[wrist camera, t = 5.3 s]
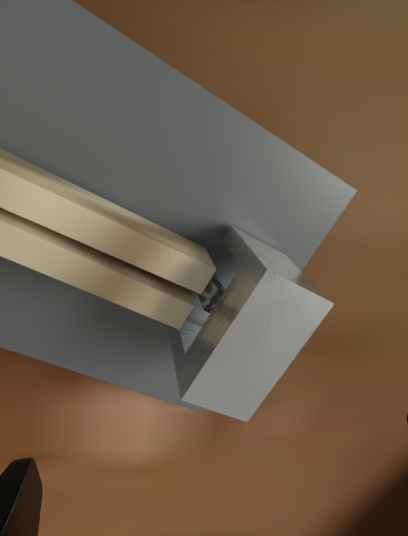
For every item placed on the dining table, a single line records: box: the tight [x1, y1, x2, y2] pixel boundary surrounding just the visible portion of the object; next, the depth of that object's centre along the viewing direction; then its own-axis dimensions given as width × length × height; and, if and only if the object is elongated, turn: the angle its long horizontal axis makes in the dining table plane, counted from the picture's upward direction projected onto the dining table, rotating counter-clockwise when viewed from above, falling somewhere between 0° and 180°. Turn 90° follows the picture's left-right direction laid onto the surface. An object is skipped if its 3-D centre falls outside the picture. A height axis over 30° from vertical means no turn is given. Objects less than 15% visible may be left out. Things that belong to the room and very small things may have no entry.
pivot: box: [197, 272, 225, 313], centre depth 18 cm, size 5×3×2 cm, turn 59°
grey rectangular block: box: [168, 226, 334, 422], centre depth 16 cm, size 3×6×5 cm, turn 149°
